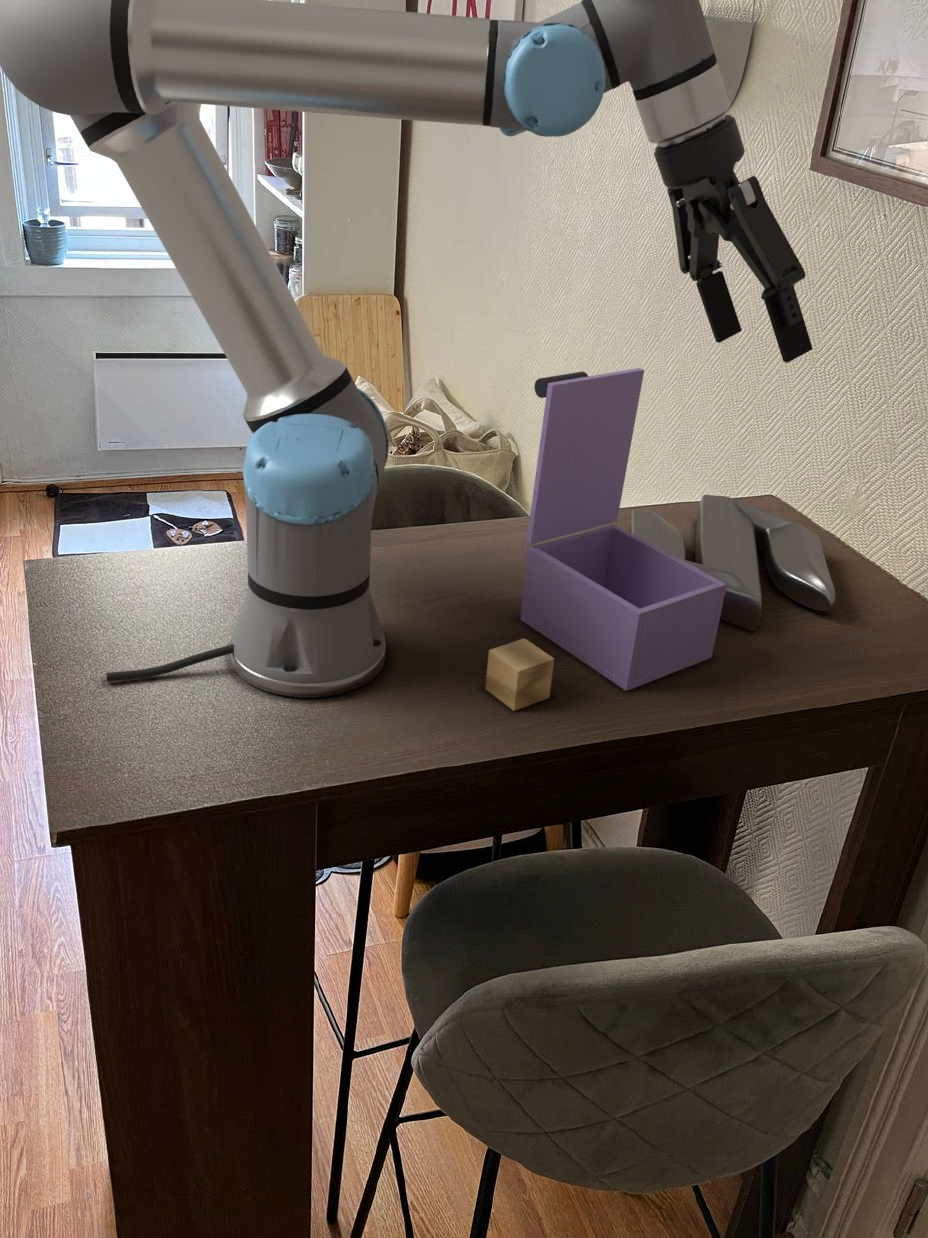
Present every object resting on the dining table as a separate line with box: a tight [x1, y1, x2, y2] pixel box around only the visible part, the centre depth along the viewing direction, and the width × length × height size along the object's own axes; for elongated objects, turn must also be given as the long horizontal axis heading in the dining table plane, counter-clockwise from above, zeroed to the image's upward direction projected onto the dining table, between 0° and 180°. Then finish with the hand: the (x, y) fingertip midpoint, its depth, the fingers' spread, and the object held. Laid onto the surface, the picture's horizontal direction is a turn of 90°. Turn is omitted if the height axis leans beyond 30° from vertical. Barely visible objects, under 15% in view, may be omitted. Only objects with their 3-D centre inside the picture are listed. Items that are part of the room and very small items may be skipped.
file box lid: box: [526, 367, 645, 545], centre depth 117 cm, size 17×13×6 cm
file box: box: [520, 523, 727, 692], centre depth 117 cm, size 17×13×9 cm
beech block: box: [484, 638, 555, 712], centre depth 107 cm, size 4×4×4 cm
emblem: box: [629, 494, 836, 631], centre depth 134 cm, size 28×5×28 cm
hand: (761, 345), depth 108 cm, fingers open, 13 cm apart
